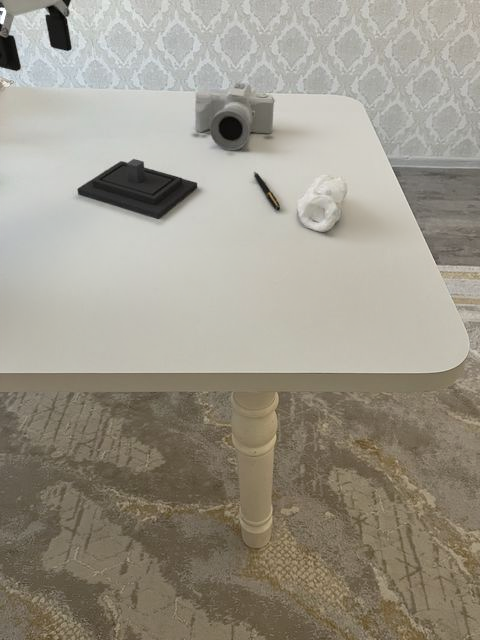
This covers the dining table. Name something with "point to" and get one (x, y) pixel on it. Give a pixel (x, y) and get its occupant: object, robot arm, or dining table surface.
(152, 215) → the base pad
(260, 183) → the fountain pen
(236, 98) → the digital camera
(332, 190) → the white hollow lump
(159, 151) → the dining table surface
